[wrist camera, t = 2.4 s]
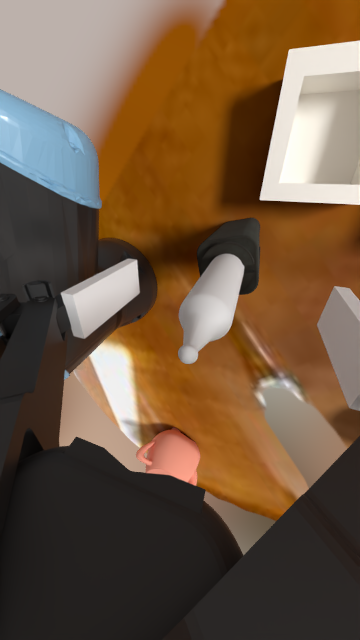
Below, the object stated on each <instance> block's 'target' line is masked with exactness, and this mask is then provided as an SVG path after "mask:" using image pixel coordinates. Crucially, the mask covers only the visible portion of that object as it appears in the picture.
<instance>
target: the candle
mask: <svg viewBox="0 0 360 640" xmlns="http://www.w3.org/2000/svg"><path fill="white" fill-rule="evenodd" d="M259 232H260V224H259V222H258V220H256V219H255V218H247V219H241V220H235V221H230V222H226V223H224V224H223V225H222V226H221V227H220V228H219V229H217V230H216V231H215V232H214V233H213V234H212V235H211V236H210V237H208V238H207V239H206V240H205V241H204V242H203V243H202V244H201V245H200V246H199V248H198V250H197V259H198V266H199V272H200V278H199V280H198V281H197V283H196V284H195V285H194V287H193V288H192V290H191V291H190V292H189V294H188V295H187V297H186V298H185V299H184V301H183V303H182V304H181V306H180V311H179V320H180V323H181V325H182V327H183V329H184V343H183V346H182V347H181V348H180V349H179V351H178V356H179V358H180V360H181V361H182V362H183V363H185V364H191V363H194V362H195V361H196V360H197V358H198V351H199V350H201V349H202V348H203V347H204V346H205V345H206V344H207V343H208V342H209V341H214V340H217V339H220V338H221V337H223V336H224V335H225V334H226V333H227V332H228V331H229V329H230V327H231V325H232V321H233V317H234V312H235V308H236V304H237V300H238V295H242V294H249V293H251V292H253V291H254V290H255V289H256V288H257V285H258V281H259V262H260V247H259Z"/></svg>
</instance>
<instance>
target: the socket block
mask: <svg viewBox="0 0 360 640" xmlns="http://www.w3.org/2000/svg"><path fill="white" fill-rule="evenodd" d="M259 200H268V201H291V202H313V203H335V204H358V205H360V41H354V42H346V43H338V44H330V45H322V46H314V47H306V48H298V49H290V50H289V53H288V58H287V63H286V68H285V73H284V78H283V83H282V88H281V93H280V98H279V103H278V109H277V114H276V119H275V124H274V129H273V134H272V139H271V144H270V149H269V154H268V159H267V164H266V169H265V174H264V179H263V184H262V189H261V194H260V199H259Z"/></svg>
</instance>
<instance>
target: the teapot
mask: <svg viewBox="0 0 360 640" xmlns="http://www.w3.org/2000/svg"><path fill="white" fill-rule="evenodd" d="M147 450H148V453H147V458H145V457H144V453H145V452H146V451H147ZM136 457H137V459H138V460H140V461H141V462H143V463H145V464H146V473H153V474H164V475H171V476H173V477H176V478H178V479H180V480H183V481H185V482H188V483H190V484H193V485H195V486H196V483H197V471H196V468H197V465H198V463H199V459H200V452H199V448H198V446H197V445H196V442H195V441H193V440H190V439H189V438H188V437H186V436H185V435H183V434H182V433H180V430H179V429H177V428H175V427H173V428H172V430H166V431H163V432H161V433H159V434H158V435H156V436H155V437H154V438H153V440H152V441H151V442H150V443H148V444H146V445H144V446H142V447H141V448H140V449H139V450H138V451H137V454H136Z"/></svg>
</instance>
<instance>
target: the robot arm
mask: <svg viewBox="0 0 360 640" xmlns="http://www.w3.org/2000/svg"><path fill="white" fill-rule="evenodd" d="M101 207H102V201H101V199H100V197H99V166H98V157H97V152H96V150H95V147H94V145H93V144H92V142H91V141H90V139H89V138H88V136H87V135H86V134H85V133H84V132H83V131H82V130H80V129H79V128H77V127H76V126H74V125H72V124H70V123H68V122H66V121H64V120H62V119H60V118H58V117H56V116H54V115H52V114H50V113H48V112H46V111H44V110H42V109H40V108H38V107H36V106H34V105H32V104H30V103H28V102H26V101H24V100H22V99H19V98H17V97H15V96H13V95H11V94H9V93H7V92H5V91H3V90H1V89H0V640H360V436H359V437H358V438H357V439H356V440H355V441H354V442H353V444H352V445H351V446H350V447H349V448H348V449H347V450H346V451H345V452H344V453H343V454H342V455H341V456H340V457H339V458H338V459H337V460H336V461H335V462H334V463H333V465H331V467H330V468H329V469H328V470H327V471H326V472H325V473H324V474H323V475H322V476H321V477H320V478H319V479H318V480H317V481H316V482H315V483H314V484H313V485H312V486H311V488H309V490H308V491H307V492H306V493H305V494H303V495H302V496H301V497H300V498H299V499H298V500H297V501H296V502H295V503H294V504H293V505H292V506H291V507H290V508H289V509H288V510H287V511H286V512H285V513H284V514H283V515H282V516H281V517H280V518H279V519H278V520H277V521H276V522H275V524H273V526H272V527H271V528H270V529H269V530H268V531H267V532H266V533H265V534H264V535H263V536H262V537H261V538H260V539H259V540H258V541H257V542H256V543H255V544H254V545H253V546H252V547H251V548H250V550H249V551H248V552H247V553H246V554H245V555H244V556H243V554H242V552H241V549H240V547H239V546H238V543H237V541H236V540H235V538H234V536H233V534H232V533H231V531H230V530H229V528H228V526H227V525H226V524H225V522H224V521H223V520H222V518H221V517H220V516H219V515H218V514H217V513H216V511H214V509H213V508H212V507H211V506H209V505H208V504H207V503H206V502H205V501H203V500H204V494H205V489H202V488H200V487H197V486H195V485H193V484H190V483H188V482H185V481H183V480H180V479H178V478H176V477H173V476H171V475H164V474H153V473H142V472H132V471H130V470H128V469H127V468H126V467H125V466H124V465H122V464H121V463H120V462H119V461H118V460H117V459H116V458H115V457H113V456H112V455H111V454H110V453H109V452H108V451H107V450H106V449H105V448H103V447H100V446H98V445H95V444H93V443H91V442H88V441H86V440H83V439H81V438H78V437H76V438H75V439H74V441H73V442H72V443H71V444H70V446H62V447H59V432H60V431H59V430H60V419H61V409H62V397H63V386H64V380H65V379H66V378H68V377H69V376H70V375H69V374H70V373H71V372H72V371H73V370H74V369H75V368H76V367H77V366H78V365H79V364H80V363H81V362H82V361H84V360H85V359H86V358H87V357H88V356H89V355H90V354H91V353H92V352H93V351H94V350H95V349H96V348H97V347H98V346H99V345H100V344H101V343H102V342H103V341H104V340H105V339H106V338H107V337H108V336H109V335H110V334H112V332H114V331H115V330H116V329H117V328H119V327H122V326H125V325H127V324H130V323H132V322H135V321H137V320H139V319H141V318H142V317H144V316H145V315H146V314H147V313H148V311H149V310H150V309H151V308H152V307H153V305H154V303H155V300H156V296H157V282H156V278H155V274H154V272H153V269H152V267H151V265H150V264H149V262H148V261H147V259H146V258H145V257H144V255H143V254H142V253H141V252H140V251H139V250H138V249H136V248H135V247H134V246H132V245H131V244H129V243H127V242H125V241H123V240H120V239H116V238H104V239H100V240H98V236H99V208H101ZM317 326H318V329H319V331H320V334H321V337H322V339H323V342H324V344H325V347H326V350H327V352H328V355H329V357H330V360H331V363H332V365H333V368H334V370H335V373H336V376H337V378H338V381H339V383H340V386H341V389H342V391H343V394H344V396H345V399H346V401H347V404H348V407H349V408H350V409H354V410H358V411H360V300H359V299H358V298H357V297H356V296H355V295H354V293H353V292H352V291H351V290H350V289H349V288H344V287H336V286H334V288H333V290H332V292H331V295H330V297H329V299H328V301H327V304H326V306H325V308H324V310H323V312H322V315H321V317H320V319H319V321H318V324H317Z"/></svg>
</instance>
